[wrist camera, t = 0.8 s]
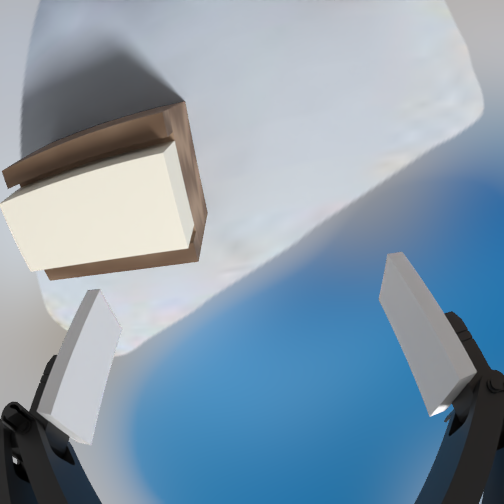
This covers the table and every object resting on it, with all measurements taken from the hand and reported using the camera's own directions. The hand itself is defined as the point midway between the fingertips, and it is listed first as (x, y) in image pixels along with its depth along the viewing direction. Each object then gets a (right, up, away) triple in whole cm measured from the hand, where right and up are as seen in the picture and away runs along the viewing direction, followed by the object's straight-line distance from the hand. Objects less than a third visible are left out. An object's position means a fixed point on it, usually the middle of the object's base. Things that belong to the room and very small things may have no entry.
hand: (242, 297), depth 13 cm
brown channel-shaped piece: (-15, +11, +19) cm, 26 cm away
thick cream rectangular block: (-14, +7, +12) cm, 20 cm away
